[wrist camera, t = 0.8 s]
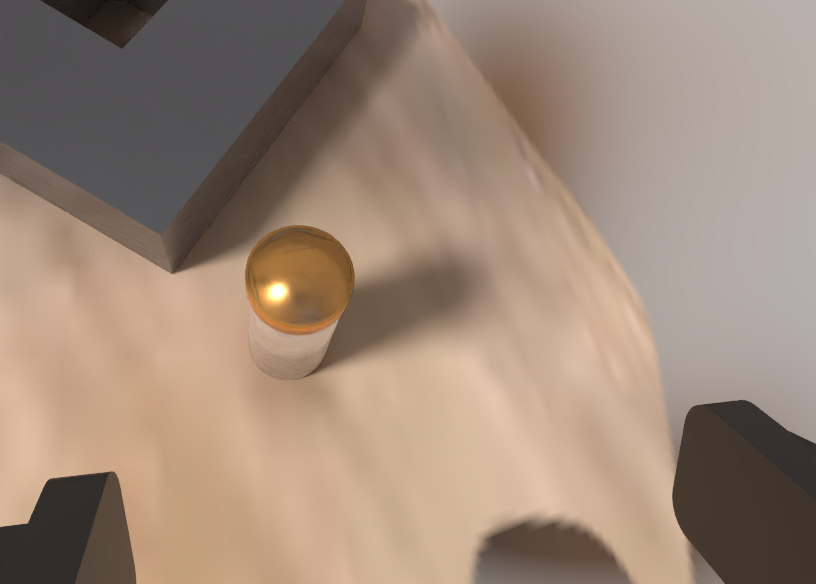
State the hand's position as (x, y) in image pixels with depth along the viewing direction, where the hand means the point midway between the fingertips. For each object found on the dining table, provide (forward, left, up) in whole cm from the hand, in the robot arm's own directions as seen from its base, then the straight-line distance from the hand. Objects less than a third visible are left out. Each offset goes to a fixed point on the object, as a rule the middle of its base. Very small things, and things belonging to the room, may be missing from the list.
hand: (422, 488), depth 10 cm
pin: (-5, +7, -26) cm, 27 cm away
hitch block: (-22, +17, -26) cm, 38 cm away
